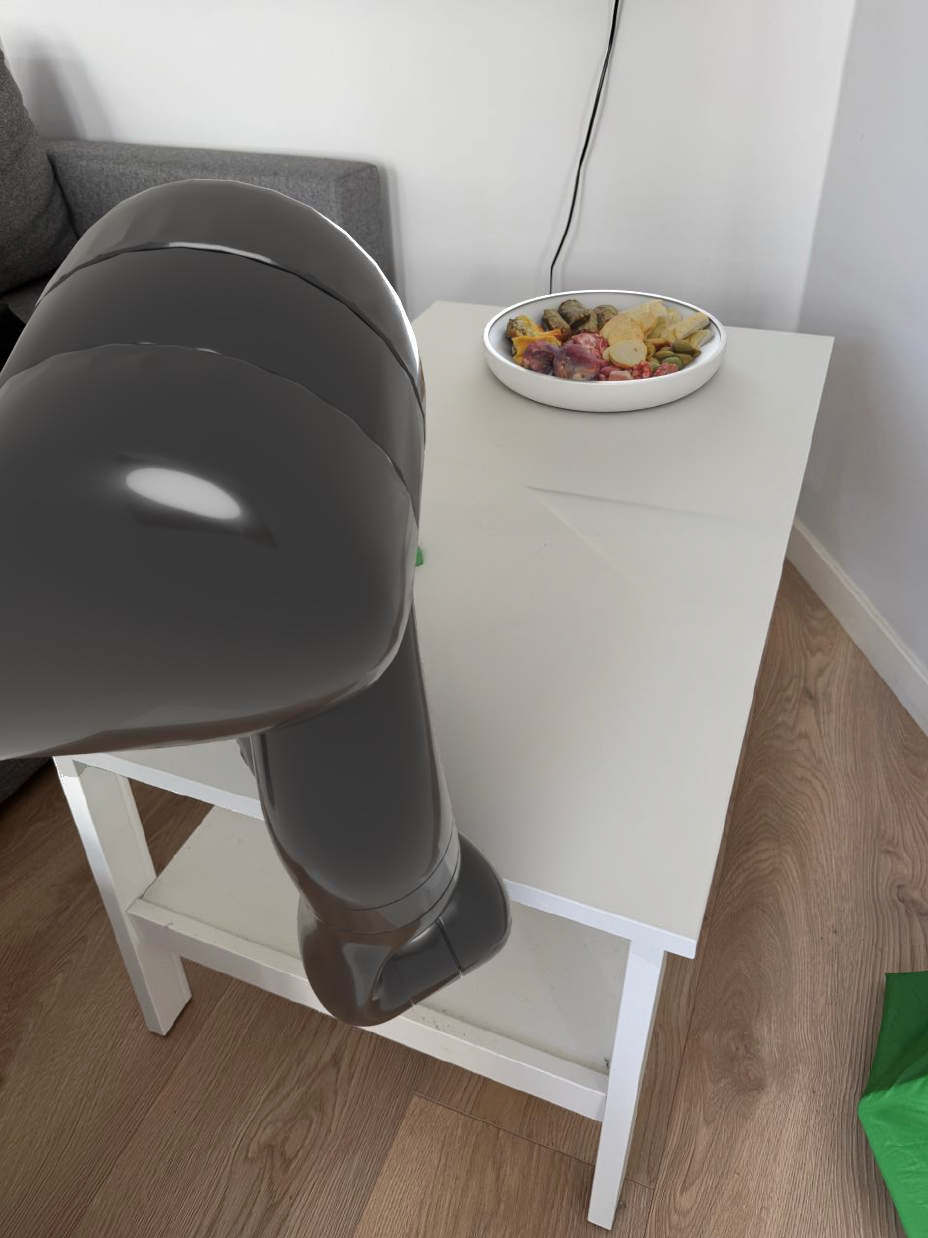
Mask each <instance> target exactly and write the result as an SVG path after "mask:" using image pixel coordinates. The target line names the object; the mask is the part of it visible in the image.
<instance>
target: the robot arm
mask: <svg viewBox="0 0 928 1238" xmlns="http://www.w3.org/2000/svg"><path fill="white" fill-rule="evenodd" d="M424 375H425V374H424V371H423V363H422V357H421V353H420V349H419V345H418V341H417V337H416V334H415V332H414V330H413V327H412V325H411V322H410V320H409V318H408V316H407V313H406V311H405V309H404V306H403V304H402V302H401V299H400V297H399V295H398V293H397V292H396V291H395V289H394V287H393V285H392V284H391V283H390V281H389V280H388V278H387V277H386V276H385V274H384V272H383V271H382V269H381V268H380V266H379V265H378V263H377V262H376V261H375V260H374V258H373V257H372V256H370V254H368V252H367V251H366V250H365V249H364V248H363V247H362V246H361V244H359V243H358V242H357V241H356V240H355V239H354V238H353V237H352V235H350V234H349V233H348V232H347V231H346V230H345V229H343V228H342V227H341V226H339V225H337V224H336V223H335V222H333V221H332V220H331V219H329V218H328V217H326V215H324V214H322V213H320V212H319V211H318V210H316V209H315V208H314V207H312V206H311V205H308V204H306V203H304V202H301V201H299V200H297V199H295V198H292V197H291V196H289V195H286V194H284V193H282V192H280V191H277V190H275V189H272V188H267V187H264V186H259V185H255V184H251V183H247V182H243V181H239V180H235V179H213V178H212V179H210V178H208V179H207V178H192V179H183V180H176V181H169V182H168V183H163V184H158V185H153V186H152V187H150V188H147V189H145V190H143V191H141V192H139V193H136V194H134V195H132V196H129V197H128V198H126V199H123V200H121V201H120V202H119V203H118V204H117V205H115V206H114V207H113V208H112V209H110V210H109V211H108V212H106V213H105V214H104V215H103V216H102V217H100V218H99V219H98V220H96V222H94V223H93V224H92V225H91V226H89V228H88V229H87V230H86V231H85V232H84V234H83V235H82V236H81V237H80V238H79V239H78V241H77V242H76V244H75V245H74V246H73V248H72V249H71V250H70V251H69V253H68V255H66V258H65V259H64V260H63V261H62V263H61V264H60V265H59V267H58V268H57V269H56V271H55V272H54V274H53V275H52V277H51V278H50V279H49V281H48V283H46V286H45V288H44V289H43V291H42V293H41V294H40V296H39V298H38V300H37V302H36V303H35V305H34V308H33V309H32V313H31V315H30V316H29V319H28V320H27V323H26V325H25V327H24V328H23V330H22V332H21V334H20V335H19V337H18V339H17V341H16V343H15V345H14V346H13V349H12V350H11V353H10V354H9V356H8V358H7V359H6V362H5V364H4V366H3V368H2V370H1V371H0V761H8V760H9V761H10V760H12V761H13V760H24V759H39V758H40V759H41V758H52V757H53V758H54V757H66V756H67V757H68V756H79V755H81V756H82V755H93V754H94V755H95V754H107V753H110V754H111V753H123V752H134V751H145V750H155V749H156V750H157V749H167V748H168V749H169V748H178V747H190V746H191V747H192V746H197V745H204V744H212V743H213V744H214V743H221V742H227V741H232V740H233V741H234V740H235V741H236V742H237V745H238V747H239V749H240V750H239V751H240V755H241V758H242V759H243V762H244V763H245V764H246V766H247V767H248V769H249V771H250V773H251V775H252V776H253V777H254V779H255V783H256V787H257V792H258V797H259V802H260V808H261V812H262V813H261V814H262V817H263V820H264V824H265V827H266V830H267V834H268V836H269V838H270V841H271V843H272V846H273V848H274V851H275V853H276V856H277V857H278V858H277V859H278V860H279V862H280V864H281V865H282V867H283V868H284V870H285V872H286V873H287V875H288V877H289V879H290V880H291V882H292V883H293V885H294V887H295V888H296V890H297V891H298V893H299V897H298V903H297V904H298V905H297V915H296V916H297V917H296V922H297V924H296V925H297V927H296V928H297V942H298V944H297V945H298V950H299V955H300V959H301V963H302V967H303V969H304V973H305V976H306V978H307V981H308V983H309V986H310V987H311V990H312V992H313V994H314V995H315V997H316V999H318V1002H319V1003H320V1004H321V1006H323V1008H324V1009H325V1010H326V1011H327V1012H328V1013H329V1014H330V1015H331V1016H332V1017H334V1018H335V1019H337V1020H339V1021H340V1022H342V1023H344V1024H346V1025H349V1026H352V1027H359V1028H368V1027H375V1026H379V1025H382V1024H385V1023H387V1022H390V1021H392V1020H395V1019H396V1018H398V1017H399V1016H401V1015H402V1014H404V1013H406V1012H407V1011H409V1010H411V1009H412V1008H414V1006H417V1005H419V1004H421V1003H422V1002H424V1001H425V1000H427V999H429V998H430V997H432V996H434V995H436V994H437V993H439V992H440V991H442V990H444V989H445V988H447V987H449V986H450V985H452V984H453V983H455V982H457V981H458V980H460V979H461V977H462V976H463V977H465V976H467V975H469V974H471V973H472V972H474V971H476V970H477V969H479V968H481V967H483V966H484V965H486V964H487V963H488V962H490V961H492V960H493V959H494V958H495V957H497V956H498V955H499V954H500V953H501V952H502V951H503V949H504V948H505V946H506V945H507V944H508V941H509V938H510V936H511V932H512V926H513V907H512V900H511V897H510V893H509V890H508V887H507V884H506V881H505V880H504V878H503V876H502V874H501V872H500V871H499V870H498V868H497V867H496V865H495V863H494V862H493V861H492V860H491V859H490V858H489V856H488V855H487V854H486V853H485V852H484V851H483V850H482V849H481V848H480V847H479V846H478V845H477V844H476V843H475V842H474V841H472V839H471V838H469V837H468V836H467V835H466V834H464V833H463V832H462V831H461V830H459V829H458V828H457V824H456V820H455V814H454V810H453V805H452V800H451V796H450V791H449V787H448V783H447V782H448V781H447V778H446V774H445V770H444V765H443V760H442V757H441V751H440V747H439V743H438V738H437V734H436V733H437V732H436V728H435V724H434V717H433V714H432V709H431V704H430V699H429V693H428V688H427V683H426V678H425V672H424V666H423V661H422V660H423V659H422V653H421V648H420V641H419V633H418V626H417V625H418V624H417V617H416V606H415V597H414V595H415V594H414V581H415V573H416V566H415V564H416V555H417V546H418V547H419V535H420V520H421V507H422V494H423V482H424V481H423V480H424V467H425V455H426V454H425V451H426V443H427V441H426V440H427V393H426V382H425V377H424Z"/></svg>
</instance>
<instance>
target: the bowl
mask: <svg viewBox="0 0 928 1238" xmlns="http://www.w3.org/2000/svg"><path fill="white" fill-rule="evenodd" d="M727 342H728V334H727V331H726V329H725V327H724V325H723V324H722V323H721V321H719V319H717V318H716V317H715V316H714V315H712V314H711V313H710V312H707V310H704V309H703V308H700V307H699V306H696V305H693V304H691V303H689V302H685V301H683V300H680V299H678V298H677V299H676V298H674V297H673V298H672V297H669V296H664V295H660V294H654V293H648V292H641V291H631V290H621V289H620V290H619V289H617V290H616V289H587V290H572V291H565V292H564V291H563V292H558V293H557V292H556V293H552V294H547V295H541V296H537V297H534V298H531V299H530V298H529V299H527V300H524V301H521V302H518V303H516V304H513V305H511V306H509V307H507V308H505V309H503V310H501V311H500V312H498V313H497V314H495V315H494V316H493V317H492V318H491V319H489V321H488V322H487V323H486V325H485V326H484V330H483V332H482V349H483V355H484V357H485V361H486V362H487V363H486V364H487V365H488V366H489V368H490V370H491V372H492V373H493V374H494V375H495V376H496V378H497V379H498V380H499V381H500V382H502V384H503V385H505V386H506V387H508V388H509V389H511V390H512V391H513V392H516V393H517V394H518V395H521V396H522V397H524V398H527V399H529V400H533V401H535V402H538V403H541V404H543V405H547V406H551V407H555V408H561V409H566V410H573V411H581V412H592V413H593V412H594V413H595V412H597V413H615V412H628V411H638V410H643V409H649V408H654V407H658V406H661V405H666V404H669V403H672V402H675V401H677V400H679V399H682V398H684V397H687V396H688V395H690V394H692V393H693V392H695V391H697V390H698V389H700V388H701V387H702V386H703V385H705V384H706V383H707V382H708V381H709V380H710V379H711V378H712V377H713V376H714V375H715V373H716V372H717V370H718V369H719V368H720V366H721V364H722V362H723V359H724V357H725V354H726V350H727V344H728V343H727Z"/></svg>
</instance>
